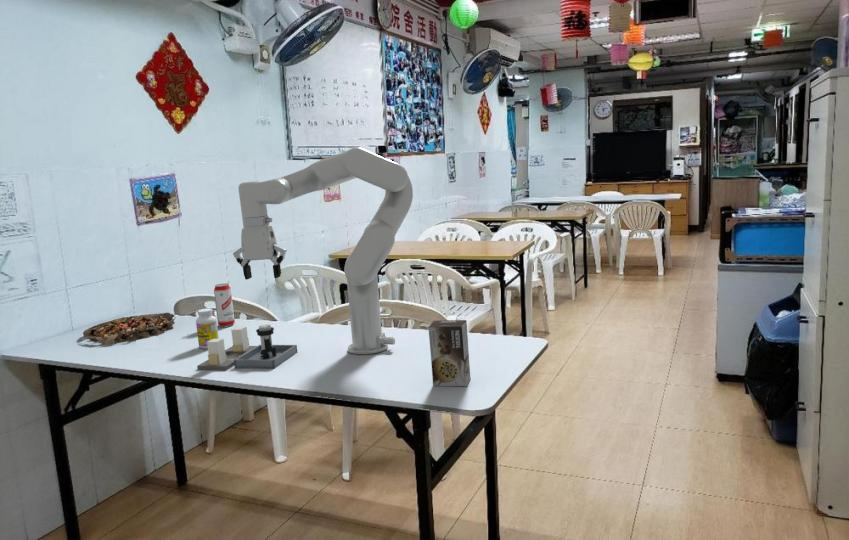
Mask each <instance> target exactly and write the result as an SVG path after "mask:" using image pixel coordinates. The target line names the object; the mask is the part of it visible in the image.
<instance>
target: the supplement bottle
mask: <svg viewBox="0 0 849 540" xmlns="http://www.w3.org/2000/svg"><path fill="white" fill-rule="evenodd" d="M197 315H198V317H197V318H196V320H195V325H196V334H197V341H198V347H199V349H203V350H208V346H207V342H208V341H210V340H212V339H220V337H219V331H218V330H219V329H218V321H217V316H214V315H213V309H212V308H210V307H209V308H208V307H207V308H201V309H199V310H197Z"/></svg>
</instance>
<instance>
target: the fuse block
mask: <svg viewBox="0 0 849 540" xmlns="http://www.w3.org/2000/svg"><path fill="white" fill-rule="evenodd" d="M230 330H231V332H230V333H231V338H232V346H231V347H228V348H227V349H226V348H225V347H226V346H225V339H224V338H219V339H212V340H210V341H208V342H207V346H208V349H207V352H208V354H207V360H205V361H203V362H202V363H200V364H198V365H196V367H197V371H203V370H204V371H228V370H230V369H232V368H234V367H235V363H234V360H235V359H237V358H238V357H240V356H242V355H243V354H245V353H247V352H248V351H250V350H252V349H253V348H255V347H257V346H258V345H250V341H249V337H248V336H249V335H248V329H247V326H236V327H233V328H232V329H230ZM230 355H231V356H233V355H234V356H235V355H236V356H237V357H235V358H233V359H227V358H228V357H227V356H230Z"/></svg>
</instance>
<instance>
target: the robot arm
mask: <svg viewBox="0 0 849 540" xmlns="http://www.w3.org/2000/svg"><path fill="white" fill-rule="evenodd" d="M354 179H359V180H360V181H361V180H362V181H363V182H365V183H368V184H370V185H373V186H375V187H378V188H380V189H382V190H385V193H384V198H383V200H382V201H381V203H380V205H379V207H378V208H377V211H376V212H375V214H374V215H373V217H372V218H371V220H370V222H369V223H368V224H367V226H366V227H365V228H364V231H363V233H362V236H361V237H360V239H359V240H358V242H357V243H356V245H355V247H354V249H353V251H352V252H351V253H350V254H349V255H348V256H347V257H346V260H345V262H344V263H345V264H344V267H343V269H344V271H343V272H344V276H345V278H346V283H347V295H348V297H347V298H348V309H349V318H350V330H351V340H352V341H351V342H352V343H351V344H349V346H348V347H347V351H348V352H349V353H350V354H354V355H371V354H372V355H373V354H377V353H381V352H385V351H386V350H387V349H388V348H389V347H388V346H389V345H392V346H393V345H394V346H395V344H396V339H395V338H394V336H386V334H385V333H386V332H383V331H382V329H383V328H382V321H381V320H382V317H381V307H380V306H381V305H380V293H379V291H380V290H379V280H378V279H379V278H378V277H379V276H378V273H379V271H380V269H381V268H382V266H383V264H384V263H385V261H386V259H387V258H388V256H389V255H390V252H391V251H392V249H393V248H394V244H395V241H396V234H397V233H398V232H399V230H400V227H401V226H402V224H403V222H404V221H405V218H406V217H407V216H408V215H407V214H408V213H409V211H410V208H411V207H412V203H413V197H414V191H413V190H414V189H413V184H412V181H411V179H410V177H409V175H408V171H407V170H406V168H405V167H404V166H403V165H402V164H400V163H398V162H394V161H392V160H391V159H387V158H384V157H383V156H381V155H378V154H377V153H373V152H371V151H369V150H367V149H365V148H363V147H360V146H359V147H358V146H357V147H351V148H350V149H348V150H346V151H343V152H341V153H340V152H339V153H338V154H335V155H332V156H330V157H326V158H323V159H321V160H318V161H316V162H314V163H311V164H310V165H308V166H307V167H305V168H303V169H300V170H297V171H295V172H293V173H290V174H287V175H284V176H282V177H281V176H280V177H278V178H277V177H276V178H273V179H269V180H263V181H259V180H257V181H246V182H241V183H239V184H238V189H237V190H238V196H239V203H240V211H241V212H240V213H241V219H242V228H241V238H240V240H241V242H240V243H241V247H240V248H238V249H237V250H235V251H234V252H232V255H233V257H234V259H235V261H236V262H237V263H238V264H239V265H240V266H241V267H242V271H243V276H244V279H245V280H246V281H247V280H249V279H251V278H253V275H252V267H251V265H250V263H251V261H262V260H269V261H271V262H272V263H273V265H272V272H273V278H274V279H278V278H280V277H281V275H282V269H281V264H282V262H283V261H284V259H285V258H286V254H287V251H288V250H287V249H286V248H284V247H282V246H281V245H278V244H277V239H276V235H275V232H274V227H273V225H270V223H272V222H273V218H272V217H269V215H268V210H267V209H268V208H267V205H280V204H281V205H282V204H283V203H286V202H288V201H291V200H294V199H296V198H299V197H302V196H304V195H308V194H311V193H313V192H317V191H318V192H319V191H322V190H326V189H329V188H332V187H335V186H337V185H338V186H339V184H343V183H345V182H348V181H351V180H354ZM279 253H280V254H279ZM241 254H242V256H241Z"/></svg>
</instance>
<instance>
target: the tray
mask: <svg viewBox="0 0 849 540" xmlns="http://www.w3.org/2000/svg"><path fill="white" fill-rule="evenodd" d="M272 345H273V347H274V348H276V356H273V357H271V358H268V359H258V358H260V356H259V357H258V355H260V350H261V348H262V347H261V344H258V345H256V346H257V347H255V348H253V349H252V350H250V351H248V352H247V353H245V354H243V355H242V356H240V355H239V356H240V357H239V356H237V357H238V358H237V357H236V358H237V359H235V358H234V359H235V360H234V363H235V366H234V368H235V369H270V370H271V369H276V368H278V367H279V366H280V365H282V364H283V363H284V362H286V361H287V360H289V359H290V358H292V357H293V356H295V355H296V354H297V353H298V346H297V344H272Z"/></svg>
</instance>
